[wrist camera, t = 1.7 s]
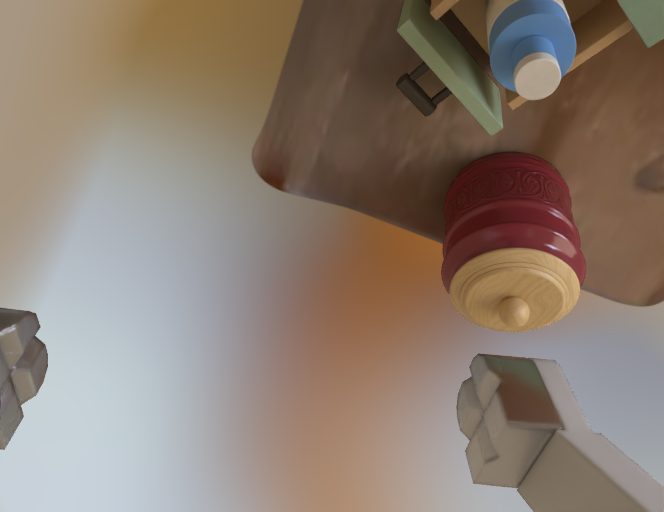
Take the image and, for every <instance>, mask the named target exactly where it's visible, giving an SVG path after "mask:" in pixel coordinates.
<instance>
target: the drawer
mask: <svg viewBox="0 0 664 512" xmlns="http://www.w3.org/2000/svg"><path fill="white" fill-rule="evenodd" d="M563 3H564V6H565V8H566V11H567V14H568V16H569V20H570V24H571V27H572V29H573V32H574V35H575V38H576V53H575V57H574V60H573V63H572V65H571V66H570V68H569V70H568V71H567V72H566V74H567V73H568V72H570V71H571V70H573V69H574V68H576V67H577V66H579V65H580V64H582V63H583V62H585V61H586V60H588V59H589V58H590V57H592V56H593V55H595V54H596V53H598V52H599V51H601V50H602V49H604V48H605V47H607V46H608V45H610V44H611V43H613V42H614V41H615V40H617V39H618V38H620V37H621V36H623V35H624V34H626V33H627V32H629V31H630V30H632V29H633V28H634V27H633V25H632V24H631V22H630V21H629V19H628V17H627V16H626V14H625V13H624V11H623V10H622V8H621V7H620V5H619V4H618V2H617V1H616V0H563ZM449 9H451V10H452V12H453V13H454V14H455V15H456V17H457V18H458V19H459V20H460V21H461V23H462V24H463V25H464V26H465V27H466V29H467V30H468V31H469V32H470V34H471V35H472V36H473V37H474V38H475V40H476V41H477V42H478V43H479V45H480V46H481V47H482V48H483V49H484V51H485V52H486V53H487V54H488V55H489V48H488V37H487V23H486V0H432V1H431V8H430V6H429V5H428V4H427V3H426V2H425V1H424V0H404V3H403V7H402V11H401V15H400V19H399V23H398V27H397V32H398V33H399V34H400V35H401V36H402V37H403V38H404V39H405V41H406V42H407V43H408V44H409V45H410V46H411V47H412V48H413V49H414V51H415V52H416V53H417V54H418V55H419V56H420V57H421V58H422V60H423V61H424V62H423V63H422V64H421V65H420V66H419V67H417V68H416V69H415V70H414V71H413V72H411V73H410V75H409V74H408V73H406V74H404V75H403V76H401V77H400V78H399V80H398V81H397V83H396V86H397V87H398V88H399V89H400V91H401V92H402V93H403V94H404V95H405V96H406V97H407V98H408V99H409V100H410V101H411V102H412V103H413V104H414V105H415V106H416V107H417V108H418V109H419V111H420V112H421V113H422V114H423V115H424V116H429V115H430V114H431V113H432V112H433V111H434V110H435V109H436V107H437V104H439V103H440V102H441V101H443V100H444V99H445V98H446V97H448V96H449V95H450V94H452V93H453V94H454V95H455V96H456V98H457V99H458V100H459V101H460V102H461V103H462V104H463V105H464V106H465V108H466V109H467V110H468V111H469V112H470V113H471V114H472V115H473V116H474V118H475V119H476V120H477V121H478V122H479V123H480V124H481V125H482V127H483V128H484V129H485V130H486V131H487V132H488V133H489V134H490V135H491V136H492V135H494V134H495V133H497V132H498V131H500V130H501V129H503V121H502V110H501V100H500V90H499V89H498V87H497V86H496V85H495V84H494V83H493V81H492V80H491V79H490V78H489V77H488V75H487V74H486V73H485V72H484V71H483V69H482V68H481V67H480V66H479V65H478V64H477V62H476V61H475V60H474V59H473V58H472V56H471V55H470V54H469V53H468V52H467V50H466V49H465V48H464V47H463V46H462V45H461V43H460V42H459V41H458V40H457V39H456V37H455V36H454V35H453V34H452V33H451V31H450V30H449V29H448V28H447V27H446V25H445V24H444V23H443V22H442V21H441V20H440V17H441V16H442V15H443V14H444V13H446V12H447V11H448V10H449ZM489 57H490V55H489ZM429 68H431V70H432V71H433V72H434V73H435V74H436V75H437V76H438V77H439V79H440V80H441V81H442V82H443V83H444V84H445V85H446V86H447V87H445V88H444V89H443V90H442V91H440V92H439V93H438V94H437V95H435V96H434V97H433V98H432V99H431V98H430V97H429V96H428V95H427V94H426V93H425V92H424V91H423V89H422V88H421V87H420V86H419V85H418V84H417V83H416V82H415V80H416V79H417V78H418V77H420V76H421V75H422V74H423V73H424V72H426V71H427V70H428V69H429ZM505 89H506V98H507V105H508V106H509V107H510V108H511V109H512V110H514V109H515V108H517V107H518V106H520V105H521V104H523V103H524V102H526V101H527V100H528V99H525V98H523V97H521V96H520V95H519V94H518V93H517V92H514V91H511V90H508V89H507V88H505Z"/></svg>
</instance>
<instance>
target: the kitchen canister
mask: <svg viewBox="0 0 664 512" xmlns="http://www.w3.org/2000/svg"><path fill="white" fill-rule="evenodd" d="M444 215H445V221H446V225H445V239H444V242H443V257H444V261H443V264H442V270H441V275H442V281H443V284H444V286H445V288H446V290H447V292H448V293H449V294H450V298H451V301H452V303H453V305H454V307H455V309H456V310H457V311H458V312H459V313H460V314H461V315H462V316H463V317H465V318H466V319H467V320H469V321H471V322H472V323H474V324H476V325H479V326H482V327H484V328H488V329H492V330H497V331H506V332H521V331H529V330H534V329H538V328H542V327H545V326H547V325H550V324H552V323H554V322H556V321H558V320H559V319H561V318H563V317H564V316H565V315H566V314H567V313H569V312H570V311H571V310H572V308H573V307H574V306H575V304H576V302H577V300H578V297H579V293H580V287H581V285H582V284H583V281H584V278H585V274H586V263H585V259H584V256H583V254H582V252H581V250H580V236H579V233H578V230H577V228H576V226H575V224H574V220H573V215H572V211H571V197H570V193H569V189H568V187H567V185H566V183H565V181H564V179H563V178H562V177H561V175H560V174H559V172H558V171H557V170H556V169H555V168H554V167H553V166H552V165H551V164H549V163H548V162H546V161H545V160H543V159H541V158H538V157H536V156H533V155H529V154H524V153H514V152H509V153H499V154H494V155H490V156H487V157H484V158H481V159H479V160H477V161H475V162H473V163H472V164H470V165H469V166H467V167H466V168H465V169H463V170H462V171H461V172H460V173H459V174H458V175H457V177H456V178H455V179H454V181H453V182H452V184H451V187H450V189H449V191H448V194H447V197H446V201H445V210H444Z"/></svg>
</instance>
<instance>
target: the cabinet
mask: <svg viewBox="0 0 664 512" xmlns="http://www.w3.org/2000/svg"><path fill="white" fill-rule="evenodd" d="M616 1H617V2H618V4H619V5H620V7H621V8H622V10H623V11H624V13H625V14H626V16H627V17H628V19H629V21H630V22H631V24H632V25H633V27H634V28H635V30H636V31H637V33H638V34H639V36H640V37H641V39H642V41H643V42H644V44H645V45H646V47H647V48H650V47H651V46H653V45H654V44H656V43H657V42H659V41H660V40H662V39H664V0H616Z"/></svg>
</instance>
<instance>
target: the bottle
mask: <svg viewBox="0 0 664 512" xmlns="http://www.w3.org/2000/svg"><path fill="white" fill-rule="evenodd" d="M486 23H487V37H488V48H489V55H490V66H491V70H492V73H493V75H494V77H495V79H496V80H497V81H498V82H499V83H500V84H501V85H502V86H503V87H505V88H507V89H508V90H511V91H514V92H517V93H518V94H519V95H520V96H521V97H523V98H525V99H528V100H539V99H543V98H545V97H547V96H549V95H550V94H552V93H553V92H554V91H555V90H556V88H557V87H558V85H559V83H560V80H561V78H562V77H563V76H564V75H565V74H566V72H567V71H568V70H569V68H570V66H571V65H572V63H573V60H574V57H575V53H576V38H575V35H574V32H573V29H572V27H571V24H570V20H569V16H568V14H567V11H566V8H565V6H564V3H563V0H486Z"/></svg>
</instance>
